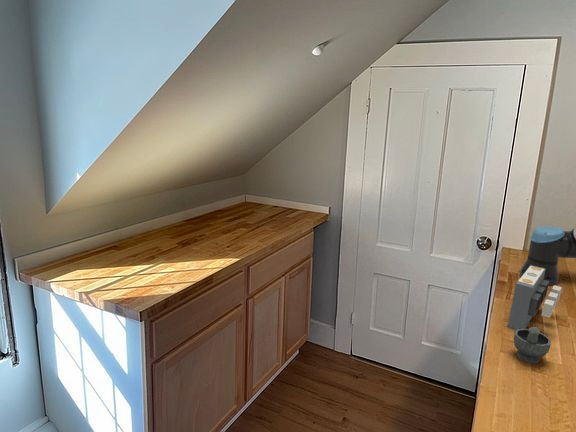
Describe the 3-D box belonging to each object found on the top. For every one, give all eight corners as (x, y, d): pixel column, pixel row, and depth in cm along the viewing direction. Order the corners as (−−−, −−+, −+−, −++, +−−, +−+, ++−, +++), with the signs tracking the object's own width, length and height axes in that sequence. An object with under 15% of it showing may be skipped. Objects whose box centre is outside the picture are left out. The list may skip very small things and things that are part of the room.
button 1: (543, 311, 146) (546, 299, 145) (551, 313, 145) (554, 301, 144) (541, 315, 143) (544, 303, 142) (549, 317, 141) (552, 305, 140)
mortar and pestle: (512, 345, 137) (519, 310, 134) (546, 355, 132) (555, 319, 129) (508, 361, 127) (516, 324, 124) (545, 373, 123) (553, 335, 120)
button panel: (522, 304, 167) (530, 263, 162) (543, 310, 162) (552, 268, 158) (507, 326, 148) (516, 281, 144) (530, 334, 144) (540, 288, 140)
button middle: (547, 303, 152) (550, 291, 151) (555, 305, 151) (558, 293, 150) (545, 307, 149) (548, 295, 148) (553, 309, 147) (556, 297, 146)
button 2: (551, 296, 158) (554, 285, 157) (559, 298, 157) (561, 287, 156) (549, 300, 155) (552, 288, 154) (557, 302, 154) (559, 290, 152)
